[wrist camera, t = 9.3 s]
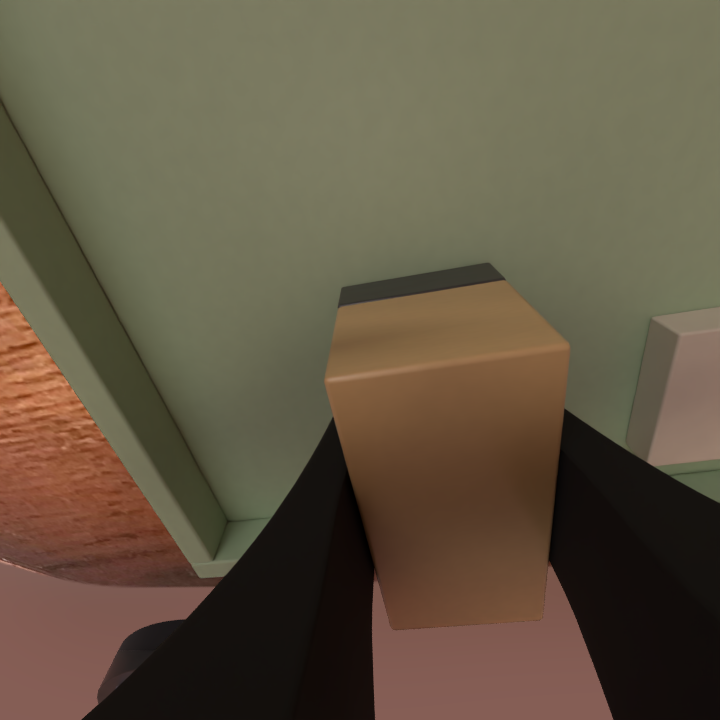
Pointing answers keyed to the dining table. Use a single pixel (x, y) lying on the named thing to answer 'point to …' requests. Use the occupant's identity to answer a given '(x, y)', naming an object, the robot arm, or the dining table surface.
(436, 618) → the eraser
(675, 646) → the robot arm
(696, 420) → the square tile
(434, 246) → the tray
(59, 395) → the dining table surface
